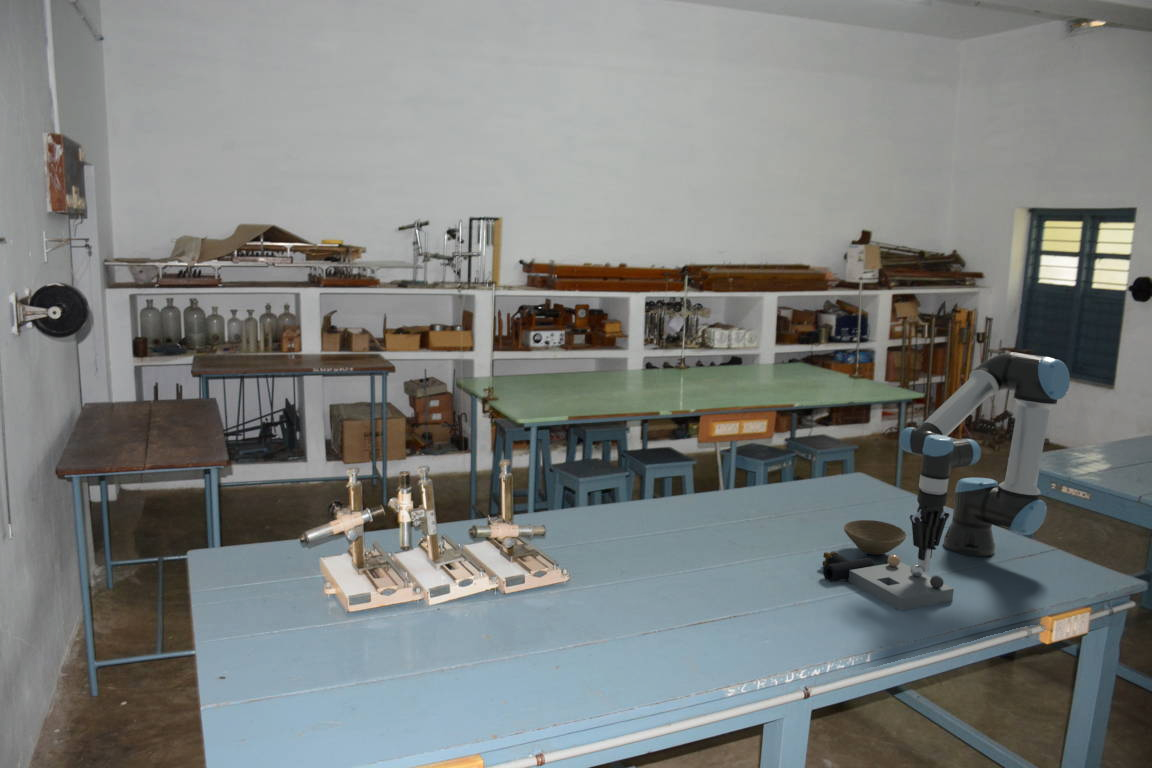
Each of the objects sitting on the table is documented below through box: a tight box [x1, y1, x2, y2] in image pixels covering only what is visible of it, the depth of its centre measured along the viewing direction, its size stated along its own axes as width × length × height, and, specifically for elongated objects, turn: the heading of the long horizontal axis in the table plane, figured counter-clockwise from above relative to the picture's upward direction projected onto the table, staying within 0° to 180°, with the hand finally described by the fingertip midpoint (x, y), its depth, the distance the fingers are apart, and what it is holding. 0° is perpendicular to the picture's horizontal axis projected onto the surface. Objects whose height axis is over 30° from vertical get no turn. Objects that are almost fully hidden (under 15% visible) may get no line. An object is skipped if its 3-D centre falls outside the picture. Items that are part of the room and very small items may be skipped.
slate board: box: [847, 561, 955, 612], centre depth 241 cm, size 19×20×4 cm
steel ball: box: [910, 564, 924, 577], centre depth 243 cm, size 3×3×3 cm
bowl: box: [843, 519, 907, 556], centre depth 269 cm, size 18×18×8 cm
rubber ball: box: [930, 575, 945, 589], centre depth 236 cm, size 3×3×3 cm
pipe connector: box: [822, 550, 876, 583], centre depth 252 cm, size 12×5×15 cm
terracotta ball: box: [887, 554, 901, 567], centre depth 250 cm, size 3×3×3 cm
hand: (923, 569), depth 244 cm, fingers closed
